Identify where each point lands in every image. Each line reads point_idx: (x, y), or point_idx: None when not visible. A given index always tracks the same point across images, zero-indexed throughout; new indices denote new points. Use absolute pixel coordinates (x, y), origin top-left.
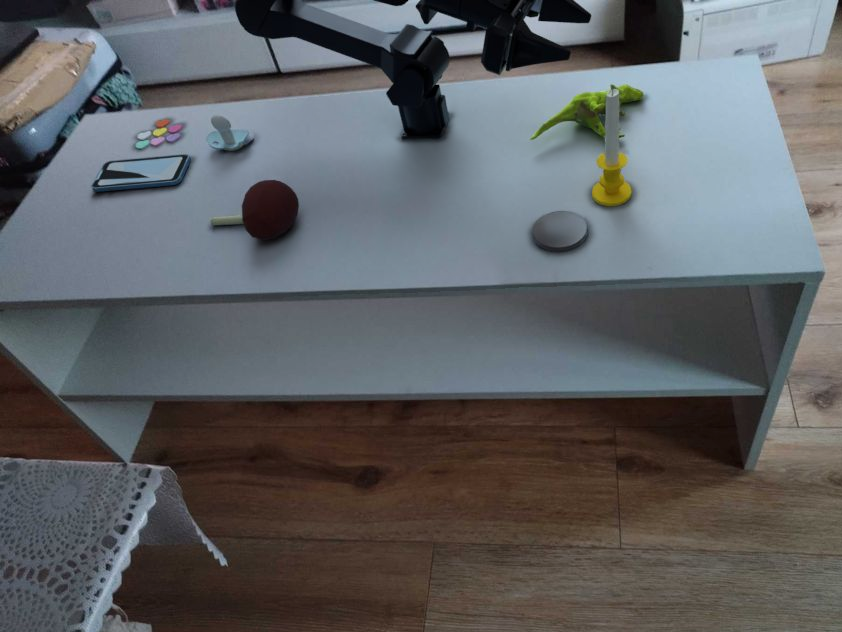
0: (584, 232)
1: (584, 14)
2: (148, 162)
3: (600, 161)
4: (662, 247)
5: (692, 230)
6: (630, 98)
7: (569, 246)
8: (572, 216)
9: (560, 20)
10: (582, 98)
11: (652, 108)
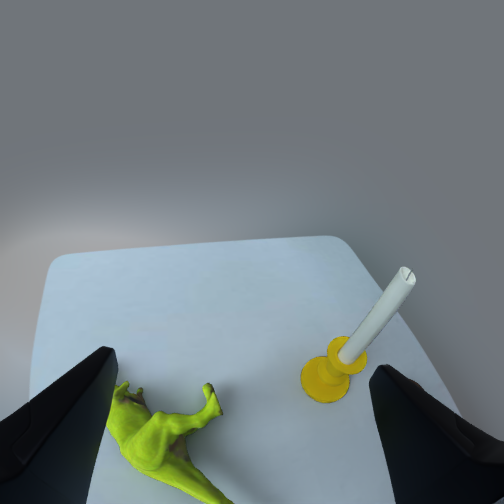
0: None
1: (107, 367)
2: None
3: (353, 369)
4: None
5: (343, 298)
6: None
7: (419, 385)
8: None
9: (90, 475)
10: (163, 446)
11: (117, 354)
